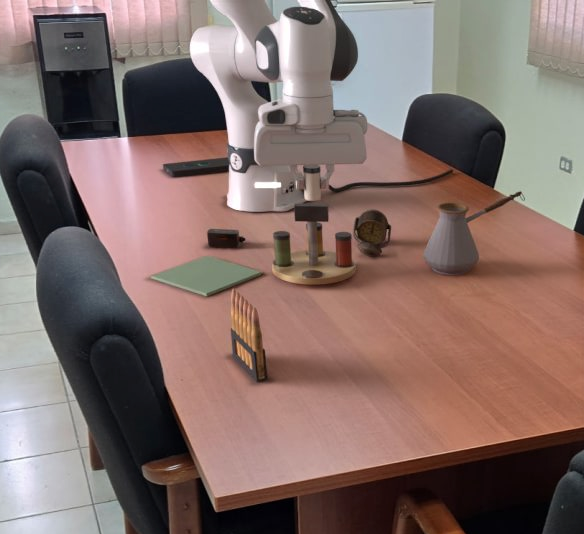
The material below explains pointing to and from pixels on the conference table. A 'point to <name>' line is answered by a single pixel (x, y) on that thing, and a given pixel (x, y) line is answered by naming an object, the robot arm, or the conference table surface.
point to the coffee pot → (455, 238)
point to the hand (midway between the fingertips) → (312, 188)
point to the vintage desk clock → (371, 232)
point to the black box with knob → (224, 238)
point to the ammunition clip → (247, 338)
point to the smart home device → (197, 167)
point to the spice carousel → (313, 251)
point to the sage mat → (206, 275)
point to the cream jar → (312, 182)
